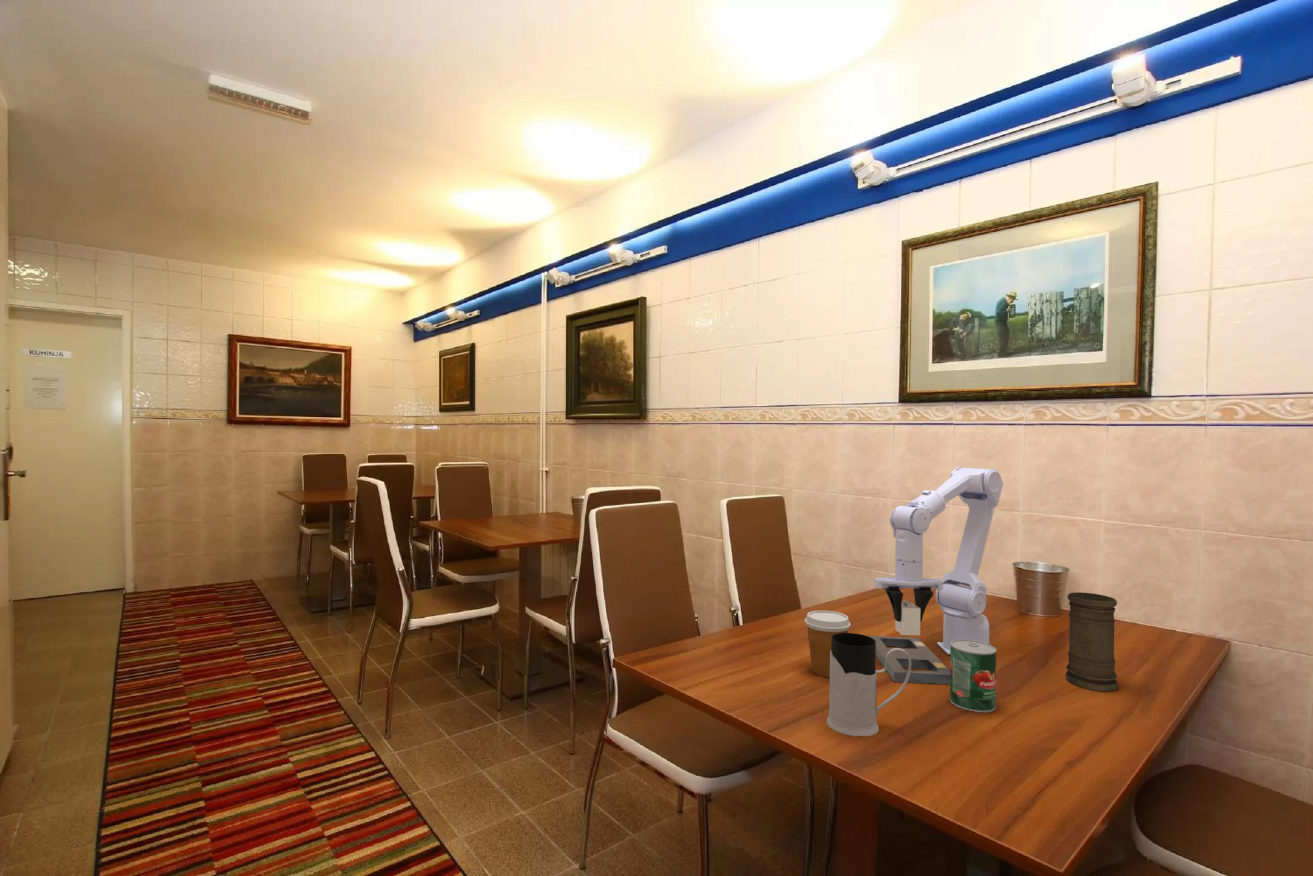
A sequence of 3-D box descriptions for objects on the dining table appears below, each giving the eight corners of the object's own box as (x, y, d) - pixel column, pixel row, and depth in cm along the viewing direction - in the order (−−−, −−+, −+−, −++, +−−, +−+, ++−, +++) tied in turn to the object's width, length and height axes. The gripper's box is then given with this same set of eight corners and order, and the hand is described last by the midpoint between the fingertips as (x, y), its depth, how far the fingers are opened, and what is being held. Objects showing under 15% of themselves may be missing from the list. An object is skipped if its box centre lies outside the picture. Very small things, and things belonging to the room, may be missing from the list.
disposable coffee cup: (852, 667, 136) (853, 613, 136) (846, 683, 127) (847, 624, 127) (808, 660, 140) (809, 607, 140) (800, 675, 131) (800, 618, 131)
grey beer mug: (822, 712, 114) (823, 630, 114) (902, 716, 112) (903, 634, 112) (831, 735, 105) (832, 646, 105) (918, 740, 104) (919, 650, 104)
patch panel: (918, 646, 151) (918, 637, 151) (954, 685, 127) (954, 674, 127) (867, 643, 152) (867, 635, 152) (894, 681, 128) (894, 671, 128)
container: (1102, 695, 123) (1104, 604, 123) (1056, 679, 131) (1057, 594, 131) (1127, 687, 127) (1128, 599, 127) (1080, 672, 135) (1081, 589, 135)
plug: (912, 629, 141) (913, 600, 141) (920, 635, 137) (920, 604, 137) (895, 629, 141) (895, 599, 141) (901, 635, 137) (902, 604, 137)
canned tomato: (994, 716, 113) (995, 656, 113) (946, 706, 117) (947, 648, 117) (997, 701, 120) (997, 644, 120) (952, 692, 124) (952, 636, 124)
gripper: (933, 557, 143) (932, 616, 143) (870, 556, 143) (869, 614, 143) (947, 563, 136) (946, 625, 136) (881, 562, 136) (880, 623, 136)
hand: (908, 620), depth 139 cm, fingers closed on plug, 4 cm apart
